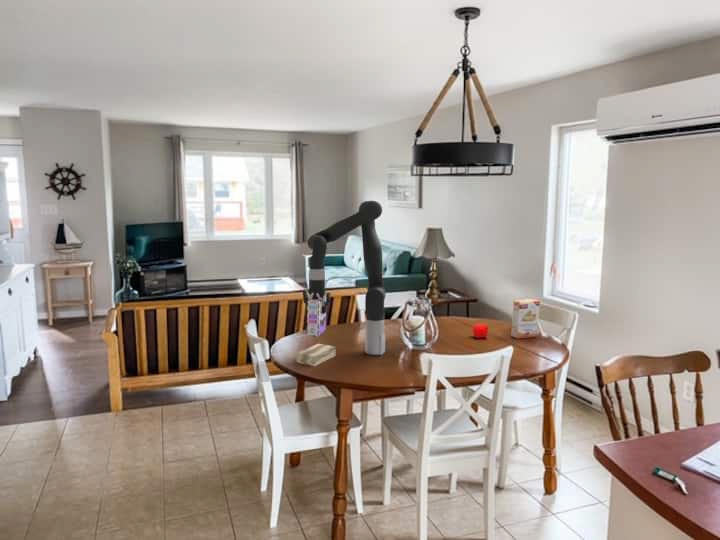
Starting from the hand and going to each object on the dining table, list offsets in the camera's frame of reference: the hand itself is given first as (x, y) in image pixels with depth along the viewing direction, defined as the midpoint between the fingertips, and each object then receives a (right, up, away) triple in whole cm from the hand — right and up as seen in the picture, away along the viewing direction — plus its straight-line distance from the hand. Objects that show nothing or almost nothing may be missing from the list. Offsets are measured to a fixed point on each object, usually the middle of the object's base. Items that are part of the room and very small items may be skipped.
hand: (316, 312), depth 243 cm
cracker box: (+113, -18, +48) cm, 124 cm away
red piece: (+87, -18, +45) cm, 100 cm away
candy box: (0, -10, +1) cm, 10 cm away
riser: (0, -23, +3) cm, 23 cm away
